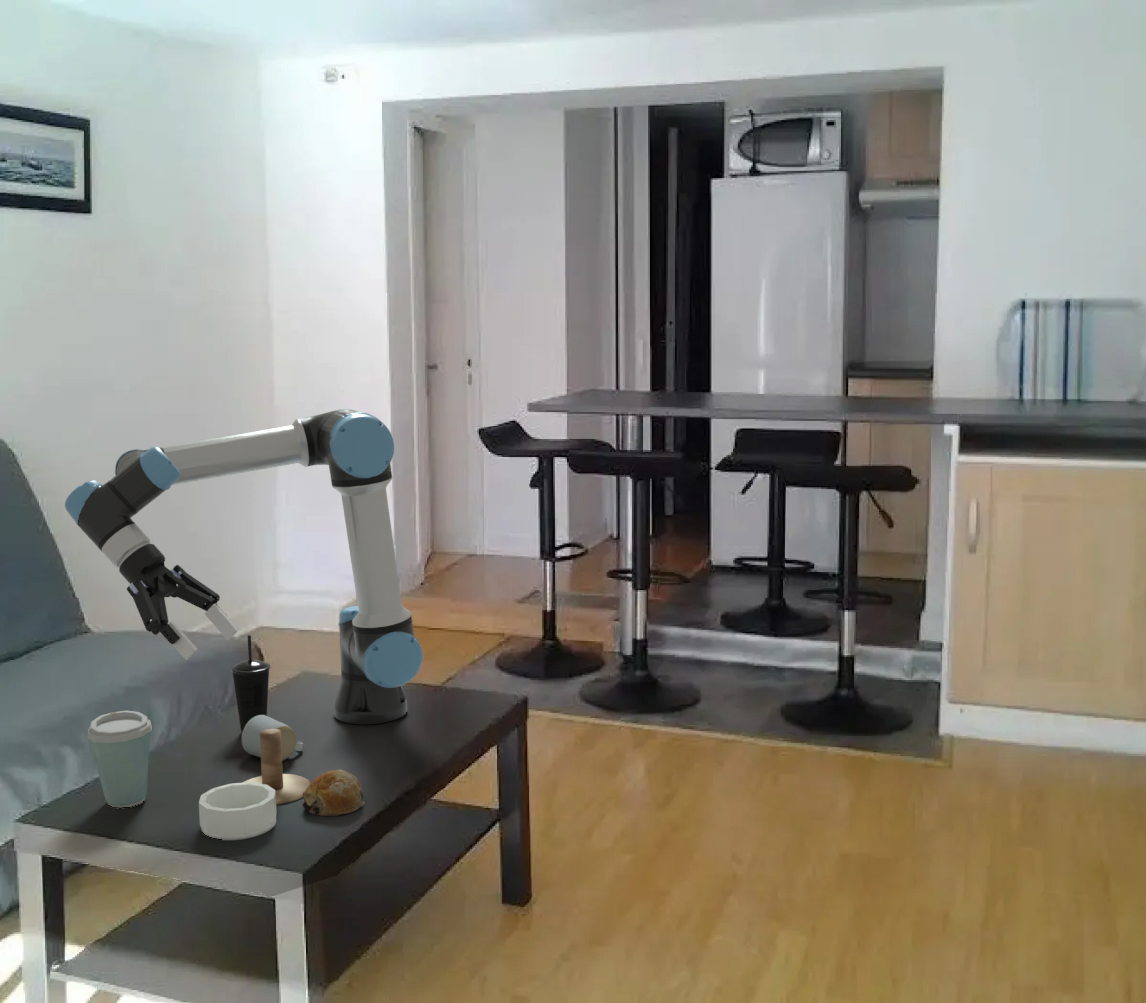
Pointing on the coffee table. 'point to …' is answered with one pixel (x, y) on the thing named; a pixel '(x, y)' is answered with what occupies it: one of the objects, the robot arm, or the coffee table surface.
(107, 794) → the disposable coffee cup
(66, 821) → the coffee table surface
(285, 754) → the ceramic mug
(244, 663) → the drinking cup
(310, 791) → the bread roll
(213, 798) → the bowl
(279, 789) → the lid
